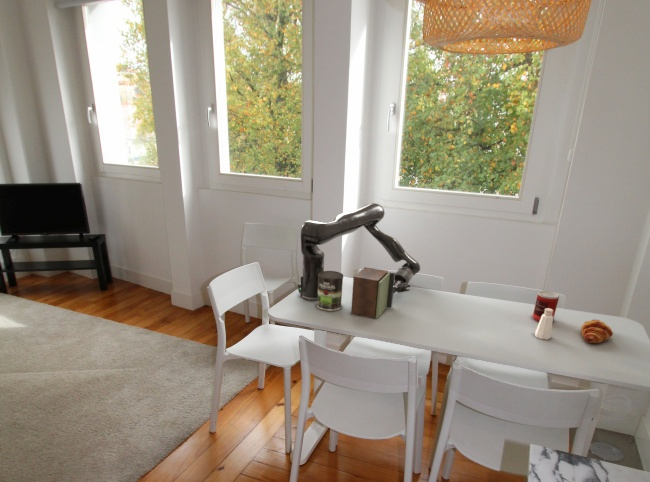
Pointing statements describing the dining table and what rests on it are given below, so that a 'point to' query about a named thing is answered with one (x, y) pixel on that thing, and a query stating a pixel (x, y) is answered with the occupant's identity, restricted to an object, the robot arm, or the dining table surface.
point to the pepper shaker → (545, 325)
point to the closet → (366, 291)
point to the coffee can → (329, 290)
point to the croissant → (596, 331)
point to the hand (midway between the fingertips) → (390, 292)
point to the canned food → (545, 303)
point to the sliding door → (385, 293)
